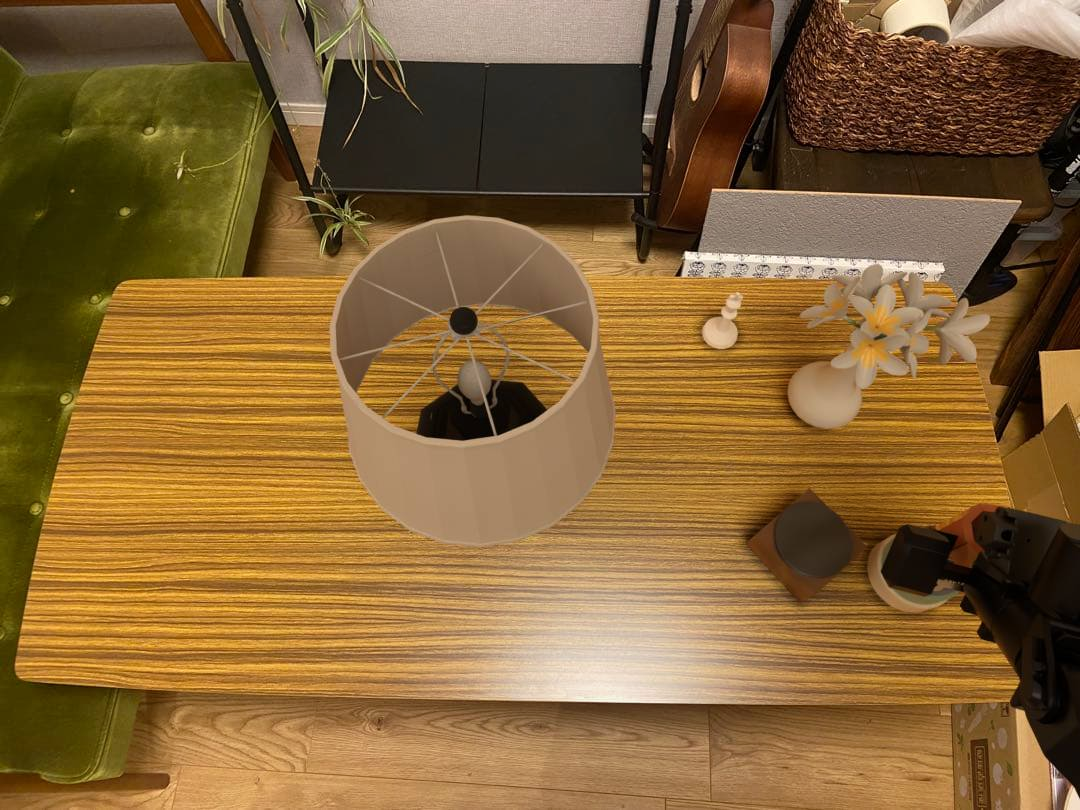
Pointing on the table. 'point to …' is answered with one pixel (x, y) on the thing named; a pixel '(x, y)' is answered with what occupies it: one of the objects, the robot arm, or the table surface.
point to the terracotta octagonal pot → (966, 533)
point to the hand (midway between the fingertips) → (960, 537)
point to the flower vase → (875, 342)
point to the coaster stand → (806, 546)
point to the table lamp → (473, 384)
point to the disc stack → (898, 597)
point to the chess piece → (723, 325)
